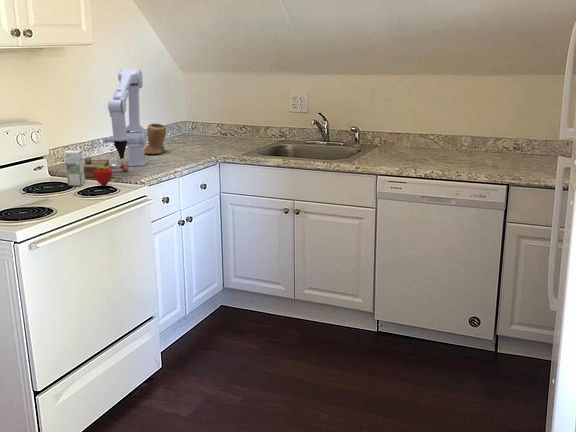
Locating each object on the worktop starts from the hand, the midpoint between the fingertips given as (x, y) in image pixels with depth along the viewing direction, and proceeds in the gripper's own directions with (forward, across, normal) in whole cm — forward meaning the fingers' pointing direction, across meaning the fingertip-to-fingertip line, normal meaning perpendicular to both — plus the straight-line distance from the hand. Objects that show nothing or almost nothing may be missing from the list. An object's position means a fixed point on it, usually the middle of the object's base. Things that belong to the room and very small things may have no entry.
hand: (122, 158), depth 281 cm
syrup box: (+8, -17, -14) cm, 23 cm away
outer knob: (+7, -11, 0) cm, 13 cm away
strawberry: (+8, -5, -19) cm, 21 cm away
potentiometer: (+3, -16, +3) cm, 16 cm away
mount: (+8, -12, +3) cm, 15 cm away
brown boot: (+8, +9, +49) cm, 50 cm away
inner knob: (+7, -5, +7) cm, 11 cm away
